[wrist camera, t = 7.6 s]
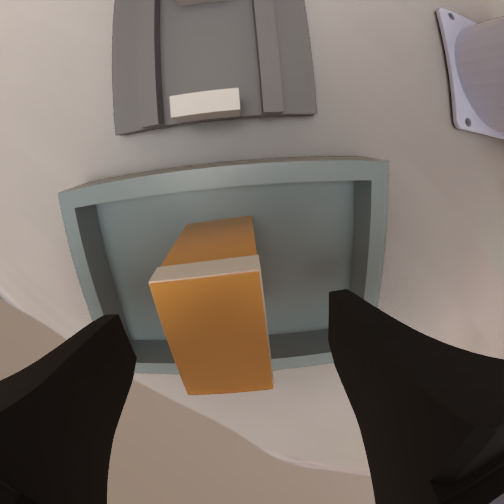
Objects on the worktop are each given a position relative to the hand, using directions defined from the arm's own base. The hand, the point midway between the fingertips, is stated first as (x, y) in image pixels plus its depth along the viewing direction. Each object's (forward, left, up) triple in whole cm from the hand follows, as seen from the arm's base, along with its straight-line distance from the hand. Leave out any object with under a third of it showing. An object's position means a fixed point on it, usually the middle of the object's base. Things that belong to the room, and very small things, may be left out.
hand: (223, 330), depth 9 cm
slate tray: (0, 0, -6) cm, 6 cm away
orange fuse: (0, 0, -5) cm, 5 cm away
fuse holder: (0, -14, -6) cm, 15 cm away
